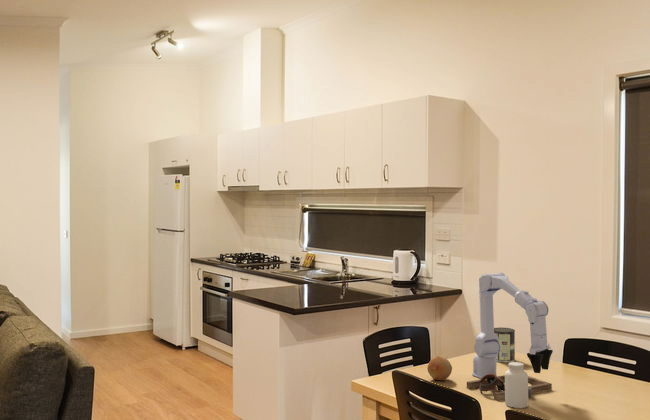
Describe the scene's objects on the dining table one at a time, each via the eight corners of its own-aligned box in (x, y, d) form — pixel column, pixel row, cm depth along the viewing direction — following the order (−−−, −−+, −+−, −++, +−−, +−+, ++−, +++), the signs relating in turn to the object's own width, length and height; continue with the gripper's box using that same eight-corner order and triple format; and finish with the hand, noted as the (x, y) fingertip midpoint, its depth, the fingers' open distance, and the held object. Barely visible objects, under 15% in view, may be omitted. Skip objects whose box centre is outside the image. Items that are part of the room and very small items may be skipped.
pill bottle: (501, 402, 224) (501, 361, 224) (522, 401, 224) (522, 360, 224) (509, 409, 216) (509, 366, 216) (531, 408, 217) (531, 366, 216)
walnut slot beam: (466, 387, 241) (466, 381, 241) (519, 378, 253) (519, 372, 253) (496, 400, 226) (496, 393, 226) (551, 389, 238) (551, 383, 238)
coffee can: (506, 356, 290) (506, 326, 290) (519, 361, 280) (519, 331, 280) (487, 357, 287) (487, 328, 287) (499, 363, 277) (499, 332, 277)
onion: (453, 383, 246) (453, 359, 246) (428, 383, 248) (427, 358, 247) (451, 377, 256) (451, 353, 256) (426, 376, 257) (426, 352, 257)
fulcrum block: (523, 397, 229) (523, 388, 229) (523, 395, 231) (523, 386, 231) (531, 398, 228) (531, 389, 228) (531, 395, 231) (531, 387, 231)
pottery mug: (510, 398, 230) (501, 380, 228) (487, 407, 232) (478, 390, 230) (503, 381, 241) (495, 364, 240) (481, 390, 243) (473, 373, 241)
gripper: (541, 337, 221) (544, 375, 220) (556, 332, 232) (558, 368, 231) (522, 336, 226) (525, 373, 225) (538, 331, 237) (540, 367, 236)
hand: (541, 371), depth 228 cm, fingers open, 7 cm apart
